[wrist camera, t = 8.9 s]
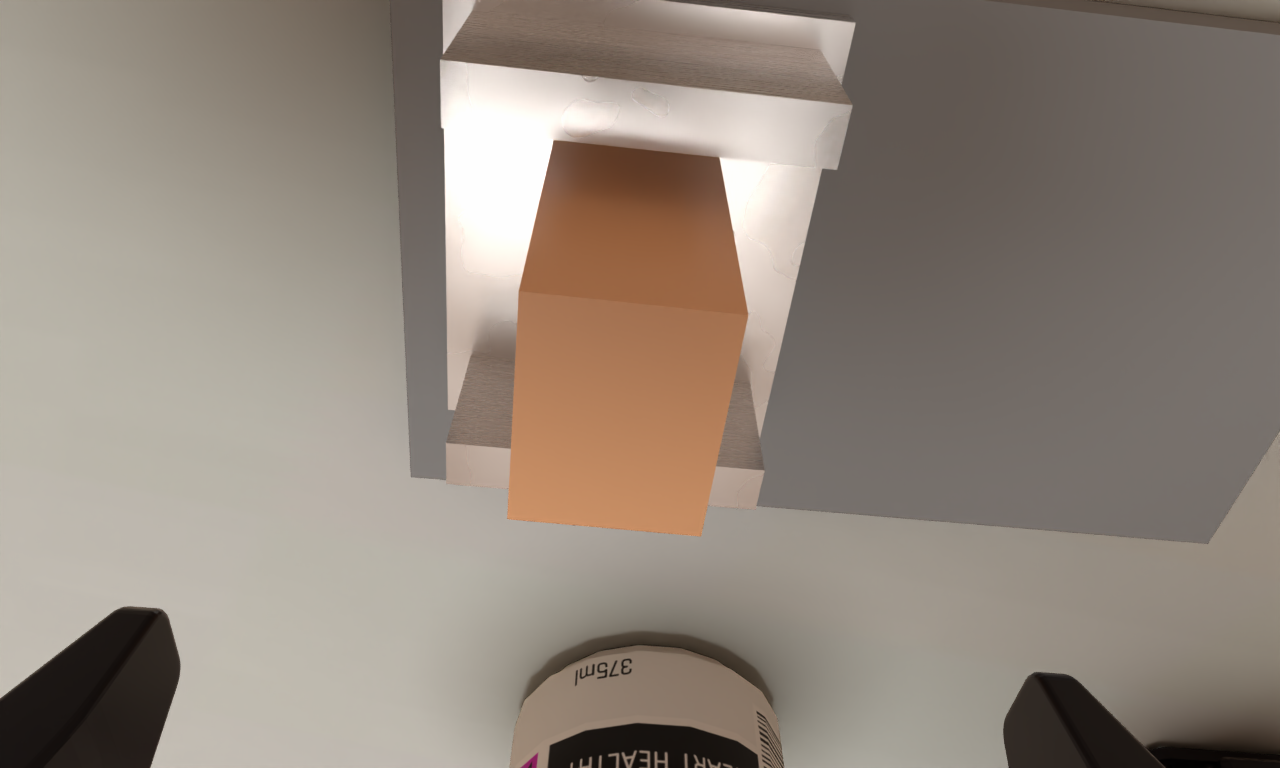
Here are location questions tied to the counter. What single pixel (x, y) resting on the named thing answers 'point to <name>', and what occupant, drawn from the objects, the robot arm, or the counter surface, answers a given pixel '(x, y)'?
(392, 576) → the counter surface
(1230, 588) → the counter surface
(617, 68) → the end holder
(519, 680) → the counter surface
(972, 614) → the counter surface
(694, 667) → the supplement can
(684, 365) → the orange rectangular block
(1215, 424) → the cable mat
